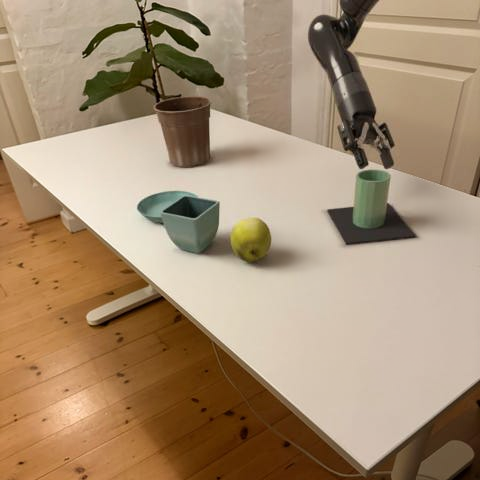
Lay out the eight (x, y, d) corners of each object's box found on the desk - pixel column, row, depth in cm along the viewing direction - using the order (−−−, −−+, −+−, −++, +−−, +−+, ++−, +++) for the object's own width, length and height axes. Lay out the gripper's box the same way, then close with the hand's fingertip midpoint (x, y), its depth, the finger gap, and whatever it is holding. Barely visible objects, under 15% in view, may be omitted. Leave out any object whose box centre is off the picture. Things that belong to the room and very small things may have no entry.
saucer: (146, 233, 103) (144, 222, 101) (133, 208, 114) (131, 198, 112) (209, 218, 106) (207, 207, 105) (190, 196, 117) (188, 185, 116)
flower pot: (201, 261, 91) (195, 219, 86) (166, 252, 95) (158, 211, 89) (224, 241, 97) (220, 200, 91) (190, 233, 101) (184, 194, 95)
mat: (388, 204, 105) (388, 202, 105) (415, 237, 92) (415, 235, 92) (327, 211, 105) (327, 209, 104) (346, 245, 92) (346, 242, 92)
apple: (269, 245, 94) (268, 208, 89) (274, 268, 87) (273, 229, 82) (231, 248, 94) (228, 211, 89) (233, 271, 87) (229, 233, 82)
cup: (378, 213, 101) (384, 168, 95) (389, 226, 96) (395, 179, 90) (348, 216, 101) (352, 171, 95) (357, 230, 95) (361, 183, 89)
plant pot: (210, 170, 131) (203, 110, 121) (156, 170, 134) (145, 111, 124) (222, 151, 143) (216, 95, 134) (172, 152, 146) (163, 97, 136)
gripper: (343, 86, 95) (368, 157, 93) (387, 92, 103) (411, 158, 101) (319, 109, 101) (342, 176, 100) (362, 113, 109) (385, 175, 107)
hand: (377, 167), depth 100 cm, fingers open, 8 cm apart
